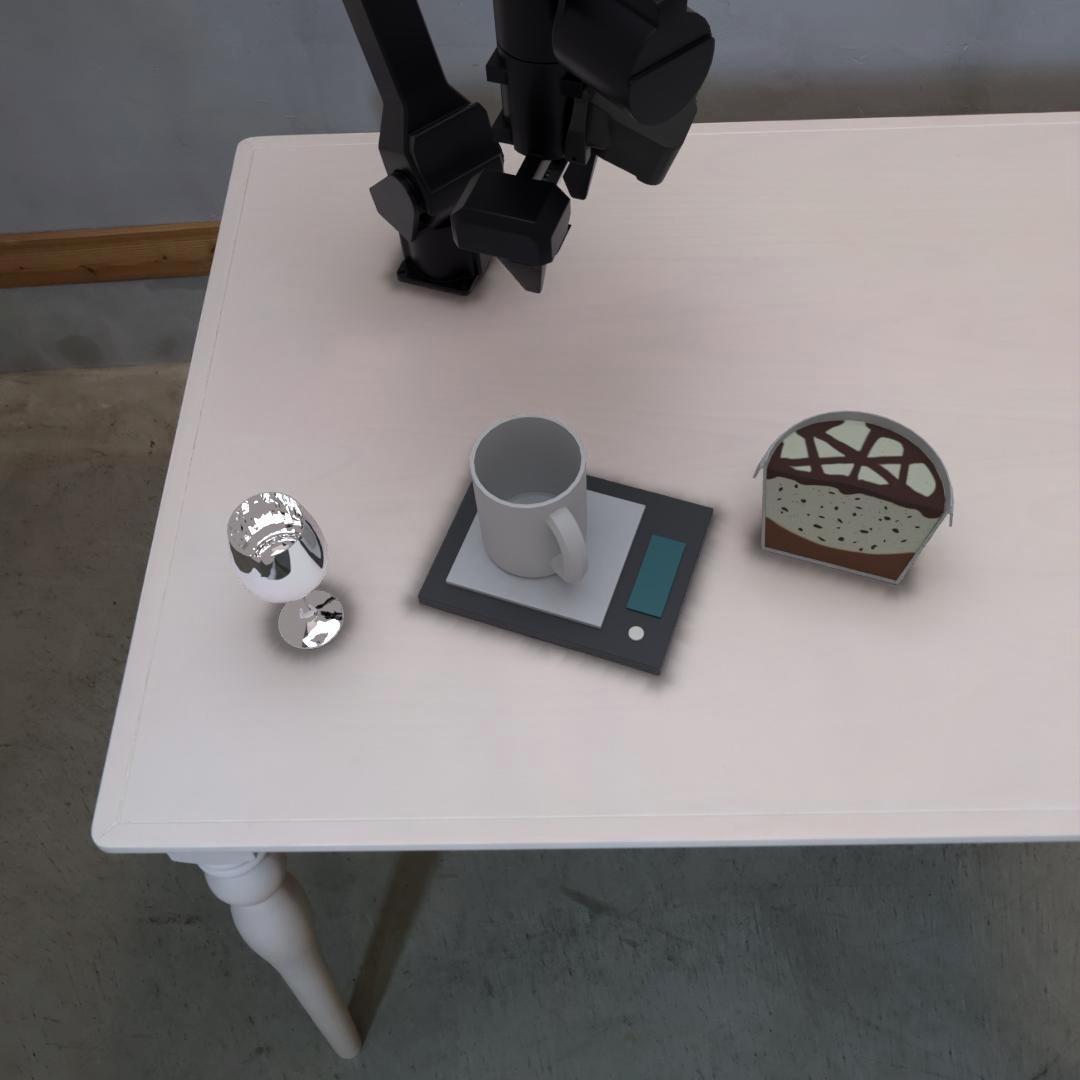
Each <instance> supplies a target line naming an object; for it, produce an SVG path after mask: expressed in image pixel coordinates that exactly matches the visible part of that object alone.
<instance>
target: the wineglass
mask: <svg viewBox="0 0 1080 1080" xmlns="http://www.w3.org/2000/svg"><path fill="white" fill-rule="evenodd" d="M226 526H227V527H226V539H227V548H228V554H229V559H230V562H231V566H232V569H233V571H234V573H235V575H236V576H237V579H238V580H239V582H240V583H241V584H242V586H243V587H244V588H245V589H246V590H247V591H248V592H249V593H251V594H252V595H253V596H255V597H256V598H258V599H260V600H262V601H265V602H269V603H275V604H284V606H283V608H281V611H280V613H279V617H278V631H279V633H280V636H281V637H282V639H283V640H284V641H285V642H286V643H287V644H288V645H290V646H291V647H294V648H296V649H297V648H298V649H302V650H312V649H317V648H320V647H323V646H325V645H327V644H329V643H330V642H331V641H332V640H334V639H335V638H336V636H337V635H338V634H339V633H340V631H341V630H342V627H343V624H344V618H345V614H344V608H343V605H342V604H341V602H340V601H339V600H338V598H336V597H335V596H334V594H333V595H332V594H331V593H330V592H327V591H323V590H316V589H317V588H318V587H319V585H320V584H321V582H322V581H323V579H324V577H325V576H326V573H327V571H328V567H329V558H330V556H329V548H328V543H327V539H326V537H325V534H324V531H323V530H322V528H321V526H320V525H319V524H318V522H317V521H316V519H315V518H314V516H313V515H312V514H311V512H309V511H308V510H307V508H306V507H305V506H304V505H303V504H302V503H300V502H299V501H298V500H297V499H296V498H294V497H292V496H291V495H289V494H287V493H283V492H280V491H279V492H276V491H268V492H267V491H266V492H260V493H258V494H254V495H252V496H250V497H248V498H246V499H245V500H243V501H242V502H240V504H239V505H238V506H236V508H235V509H234V510H233V511H232V513H231V514H230V516H229V518H228V522H227V525H226Z"/></svg>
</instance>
